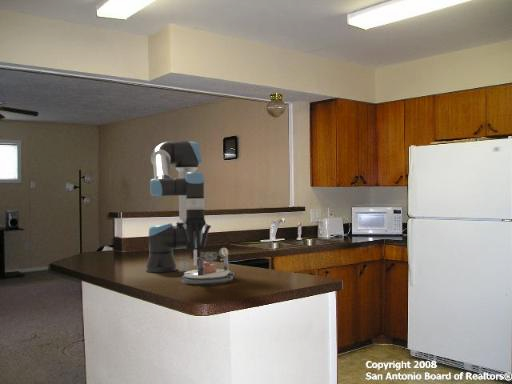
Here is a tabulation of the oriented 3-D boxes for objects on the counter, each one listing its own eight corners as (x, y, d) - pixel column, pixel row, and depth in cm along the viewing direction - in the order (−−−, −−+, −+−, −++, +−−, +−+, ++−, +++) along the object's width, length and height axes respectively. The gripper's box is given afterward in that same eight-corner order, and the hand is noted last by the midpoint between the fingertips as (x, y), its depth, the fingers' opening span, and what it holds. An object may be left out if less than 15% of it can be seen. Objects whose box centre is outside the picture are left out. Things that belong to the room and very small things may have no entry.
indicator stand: (216, 277, 230) (216, 248, 230) (225, 275, 235) (224, 246, 235) (225, 278, 227) (224, 248, 227) (234, 276, 232) (233, 247, 232)
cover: (194, 273, 219) (194, 263, 219) (201, 270, 226) (201, 261, 226) (212, 273, 216) (212, 263, 216) (218, 270, 224) (218, 261, 224)
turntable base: (171, 282, 219) (171, 278, 219) (205, 275, 237) (205, 271, 237) (210, 287, 206) (209, 282, 206) (243, 279, 224) (242, 274, 224)
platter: (176, 279, 214) (176, 259, 214) (194, 271, 233) (193, 253, 233) (226, 280, 208) (226, 259, 208) (240, 272, 228) (239, 254, 228)
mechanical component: (203, 272, 248) (203, 251, 248) (218, 273, 241) (218, 252, 241) (199, 272, 245) (198, 252, 245) (214, 274, 239) (213, 253, 239)
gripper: (177, 209, 211) (178, 266, 211) (208, 208, 210) (209, 266, 210) (182, 209, 219) (183, 264, 219) (212, 208, 217) (213, 264, 217)
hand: (196, 265), depth 214 cm, fingers closed
